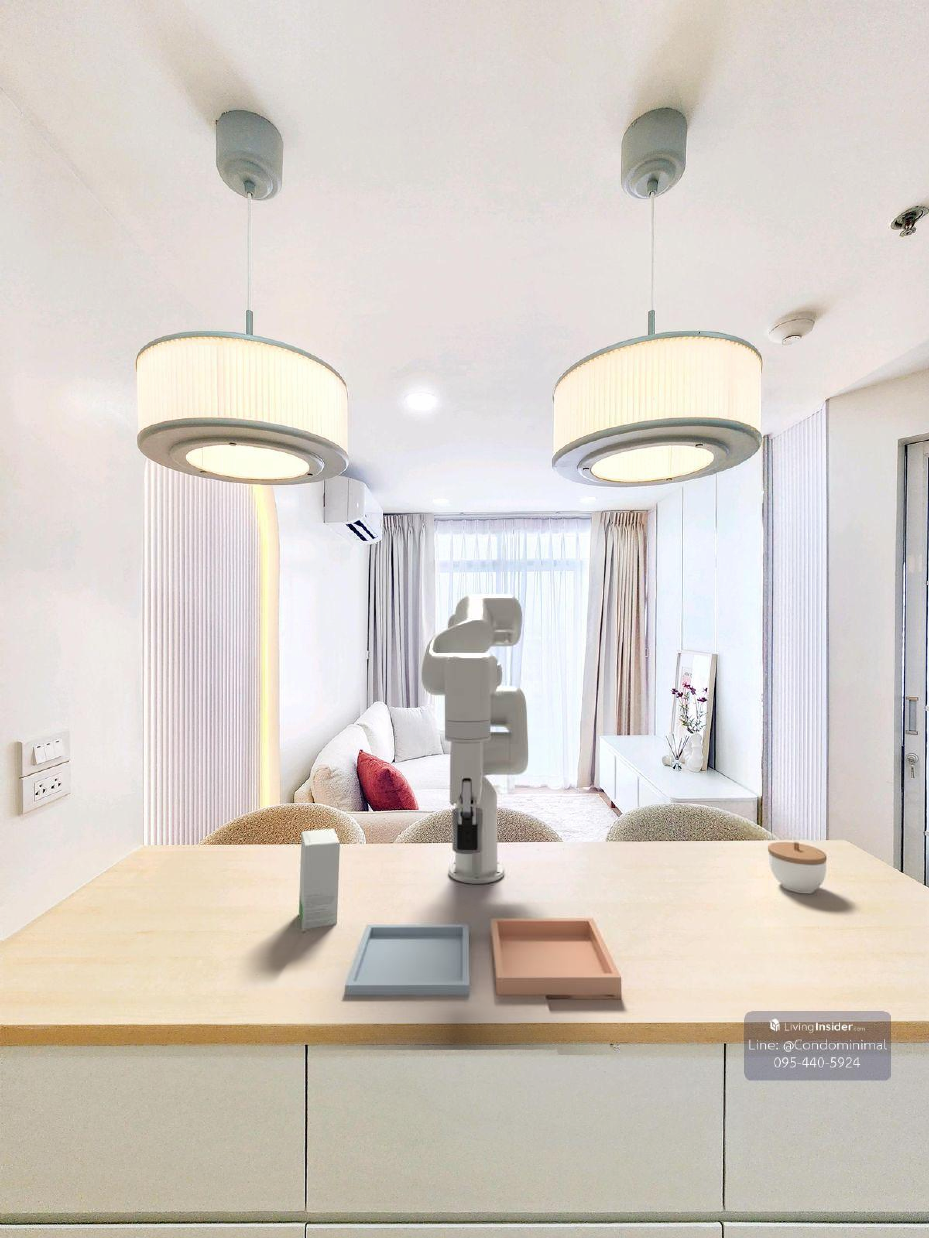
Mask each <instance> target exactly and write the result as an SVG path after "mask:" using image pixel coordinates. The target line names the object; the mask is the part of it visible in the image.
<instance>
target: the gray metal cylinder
mask: <svg viewBox="0 0 929 1238" xmlns="http://www.w3.org/2000/svg"><path fill="white" fill-rule="evenodd" d="M462 810H463V808H462ZM471 810H472V811H473V808H471ZM451 812H452V813H451V814H452V815H451V817H452V818H451V819H452V820H451V821H452V823H451V825H452V827H451V828H452V829H451V832H452V835H451V836H452V838H451V839H452V840H451V841H452V844H451V845H452V846H451V847H452V848H451V849H452V851H453V852H457V853H460V854H475V853H479V852H481V851H482V850H483V810H482V809H480V808H476V823H478V848H477V850H458V849H457V823H458V822H459V808H454V809H452V811H451ZM472 820H473V817H472ZM472 823H473V822H472Z"/></svg>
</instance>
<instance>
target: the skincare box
mask: <svg viewBox="0 0 929 1238" xmlns="http://www.w3.org/2000/svg"><path fill="white" fill-rule="evenodd" d="M300 837H301V842H300V843H301V844H300V871H299V872H300V874H299V877H300V878H299V896H298V897H299V900H298V903H299V904H298V915H299V921H300V927H301V931H302V933H306V932H307V930H309V929H315V928H322V927H326V926H333V925H337V924H338V909H339V908H338V907H339V906H338V903H339V901H338V899H339V878H340V877H339V876H340V875H339V874H340V852H341V851H340V849H341V846H340V845H341V844H340V843H341V842H340V840H339V838H338V834H337V833H336V831H335V829H334V828H332V827H331V828H325V829H322V828H321V829H315V830H314V829H313V830H306V831H301V836H300Z"/></svg>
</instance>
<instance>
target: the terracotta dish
mask: <svg viewBox="0 0 929 1238" xmlns="http://www.w3.org/2000/svg"><path fill="white" fill-rule="evenodd" d="M490 932H491V933H490V935H491V944H492V945H491V946H492V954H493V965H494V975H495V977H494V978H495V986H496V987H495V989H496V995H497V996H545V1000H583V999H584V1000H615V999H617V1000H622V997H623V996H622V976H621V974H620V971H619V970H618V968H617V965H616V964H615V962H614V959H613V956H612V955H611V953H610V951H609V949H608V948H607V945H606V943H605V940H604V939H603V936H602V935H601V932H600V930H599V928H598V926H597V924H596V922H595V920H594V918H593V917H591V918H589V917H586V918H585V917H584V918H580V917H576V918H575V917H573V918H571V917H569V918H568V917H567V918H566V917H565V918H562V917H561V918H559V917H557V918H556V917H555V918H553V917H551V918H548V917H547V918H546V917H545V918H538V917H537V918H525V917H524V918H523V917H522V918H521V917H520V918H519V917H517V918H514V917H513V918H501V917H500V918H490Z"/></svg>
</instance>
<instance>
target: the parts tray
mask: <svg viewBox="0 0 929 1238" xmlns="http://www.w3.org/2000/svg"><path fill="white" fill-rule="evenodd" d="M469 928H470V927H469V924H467V923H465V924H463V923H461V924H455V923H454V924H453V923H452V924H450V923H449V924H448V923H447V924H446V923H445V924H433V923H432V924H366V925H365V927H364V931H363V933H362V937H361V938H360V939H361V940H360V943H359V945H358V947H357V951H356V953H355V957H354V959H353V963H352V965H351V968H350V969H349V973H348V975H347V978H346V981H345V984H344V996H346V997H348V996H349V997H351V996H352V997H353V996H354V997H356V996H357V997H358V996H360V997H361V996H362V997H363V996H368V997H369V996H373V997H375V996H379V997H380V996H383V997H384V996H387V997H388V996H389V997H390V996H393V997H395V996H470V945H469V944H470V943H469V942H470V941H469V940H470V938H469V937H470V936H469V933H470V932H469V931H470V930H469Z"/></svg>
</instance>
